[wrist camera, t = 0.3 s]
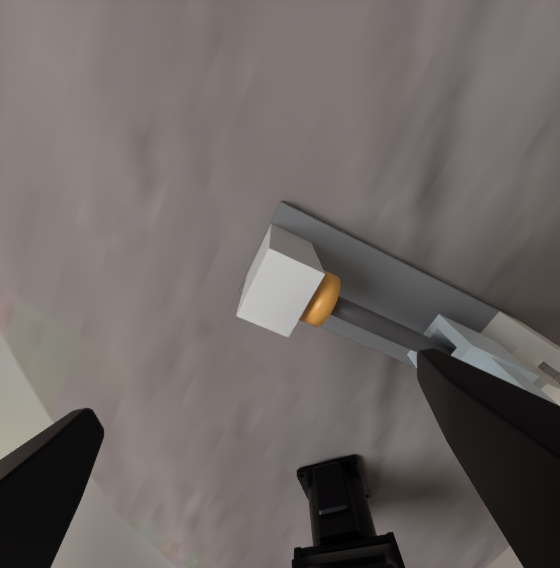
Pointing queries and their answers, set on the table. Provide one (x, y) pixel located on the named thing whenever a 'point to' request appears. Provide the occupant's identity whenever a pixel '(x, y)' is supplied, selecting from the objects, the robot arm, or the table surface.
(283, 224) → the grey slide rail
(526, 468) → the robot arm
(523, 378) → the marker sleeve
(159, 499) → the table surface
